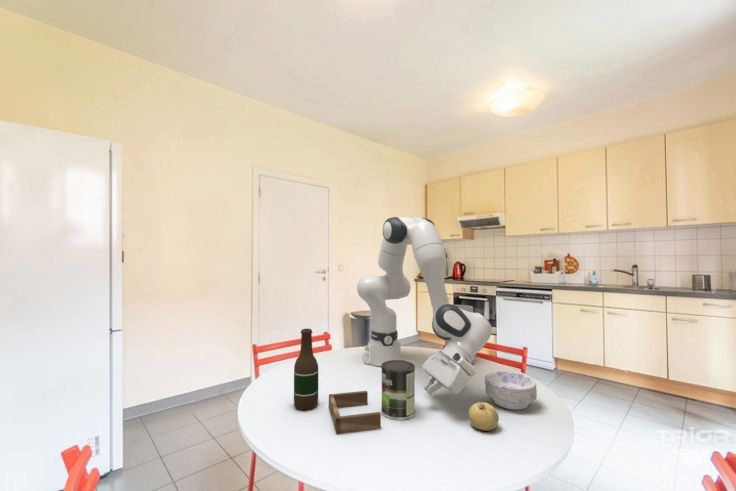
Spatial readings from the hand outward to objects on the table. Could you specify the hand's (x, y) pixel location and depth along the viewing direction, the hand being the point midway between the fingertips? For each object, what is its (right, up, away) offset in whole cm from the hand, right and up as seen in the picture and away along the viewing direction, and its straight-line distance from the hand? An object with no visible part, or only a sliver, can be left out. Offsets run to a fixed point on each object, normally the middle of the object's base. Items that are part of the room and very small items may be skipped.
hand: (426, 391), depth 102 cm
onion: (+14, -5, -11) cm, 18 cm away
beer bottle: (-38, -5, +2) cm, 38 cm away
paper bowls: (+28, -6, +3) cm, 28 cm away
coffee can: (-9, -5, -2) cm, 11 cm away
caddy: (-23, -5, -6) cm, 24 cm away
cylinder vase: (+23, -8, +47) cm, 53 cm away
